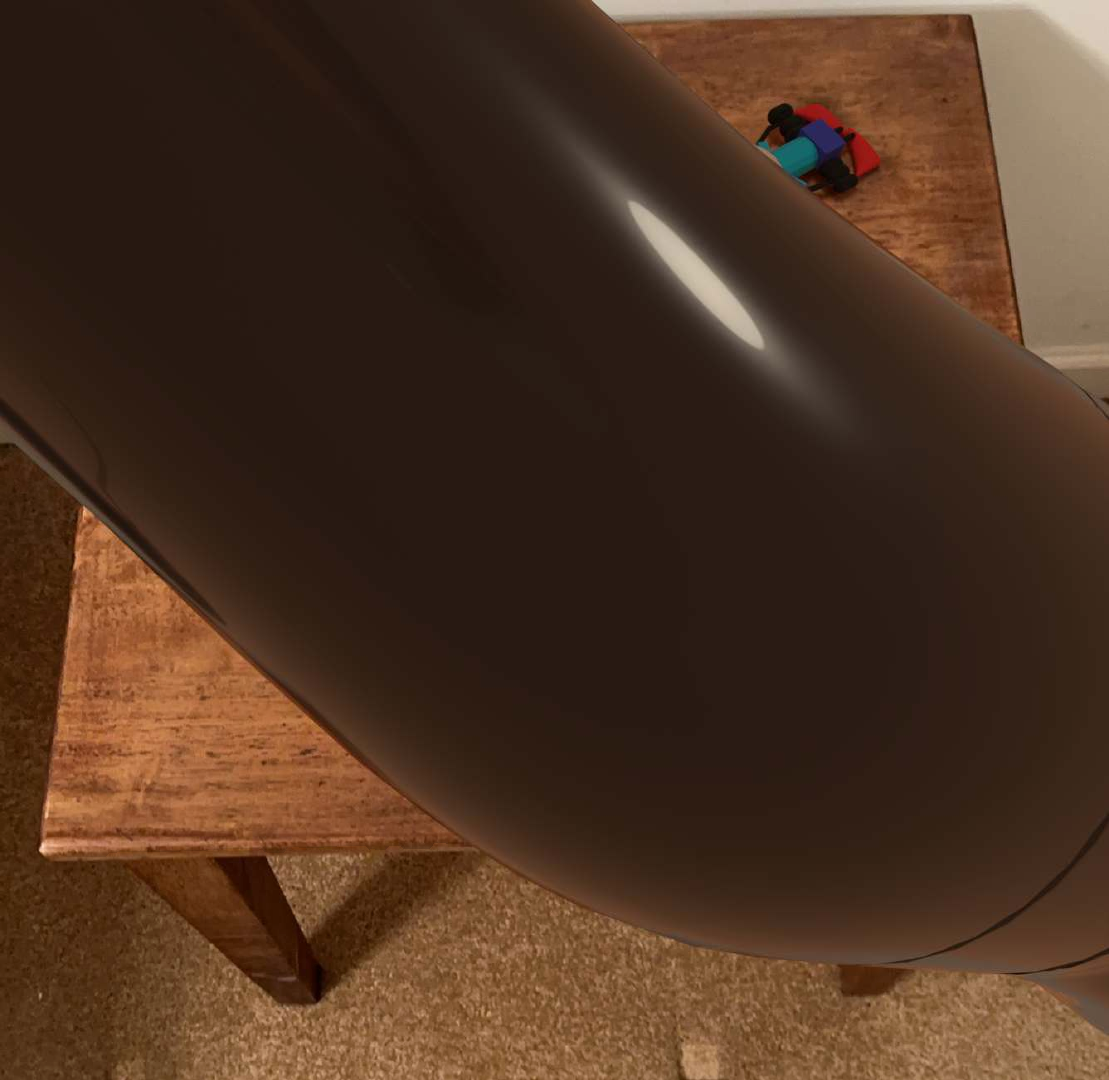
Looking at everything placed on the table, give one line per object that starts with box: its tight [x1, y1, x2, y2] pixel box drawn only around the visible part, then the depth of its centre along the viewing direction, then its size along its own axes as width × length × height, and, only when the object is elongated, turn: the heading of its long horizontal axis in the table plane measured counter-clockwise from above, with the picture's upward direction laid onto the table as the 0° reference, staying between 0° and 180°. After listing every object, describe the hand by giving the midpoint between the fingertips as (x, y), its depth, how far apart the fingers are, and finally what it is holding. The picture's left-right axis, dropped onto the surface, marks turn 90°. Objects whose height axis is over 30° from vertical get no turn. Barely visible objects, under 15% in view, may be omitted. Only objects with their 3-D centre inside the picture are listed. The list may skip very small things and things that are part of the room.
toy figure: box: [753, 102, 882, 194], centre depth 72 cm, size 8×5×15 cm
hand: (468, 483), depth 48 cm, fingers open, 8 cm apart
